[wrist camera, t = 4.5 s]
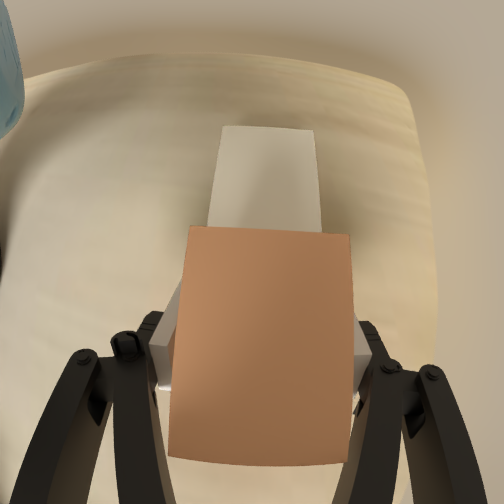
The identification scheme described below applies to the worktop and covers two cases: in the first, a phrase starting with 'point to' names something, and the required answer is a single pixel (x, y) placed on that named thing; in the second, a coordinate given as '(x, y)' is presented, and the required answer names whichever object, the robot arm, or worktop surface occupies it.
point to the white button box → (266, 180)
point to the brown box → (263, 348)
